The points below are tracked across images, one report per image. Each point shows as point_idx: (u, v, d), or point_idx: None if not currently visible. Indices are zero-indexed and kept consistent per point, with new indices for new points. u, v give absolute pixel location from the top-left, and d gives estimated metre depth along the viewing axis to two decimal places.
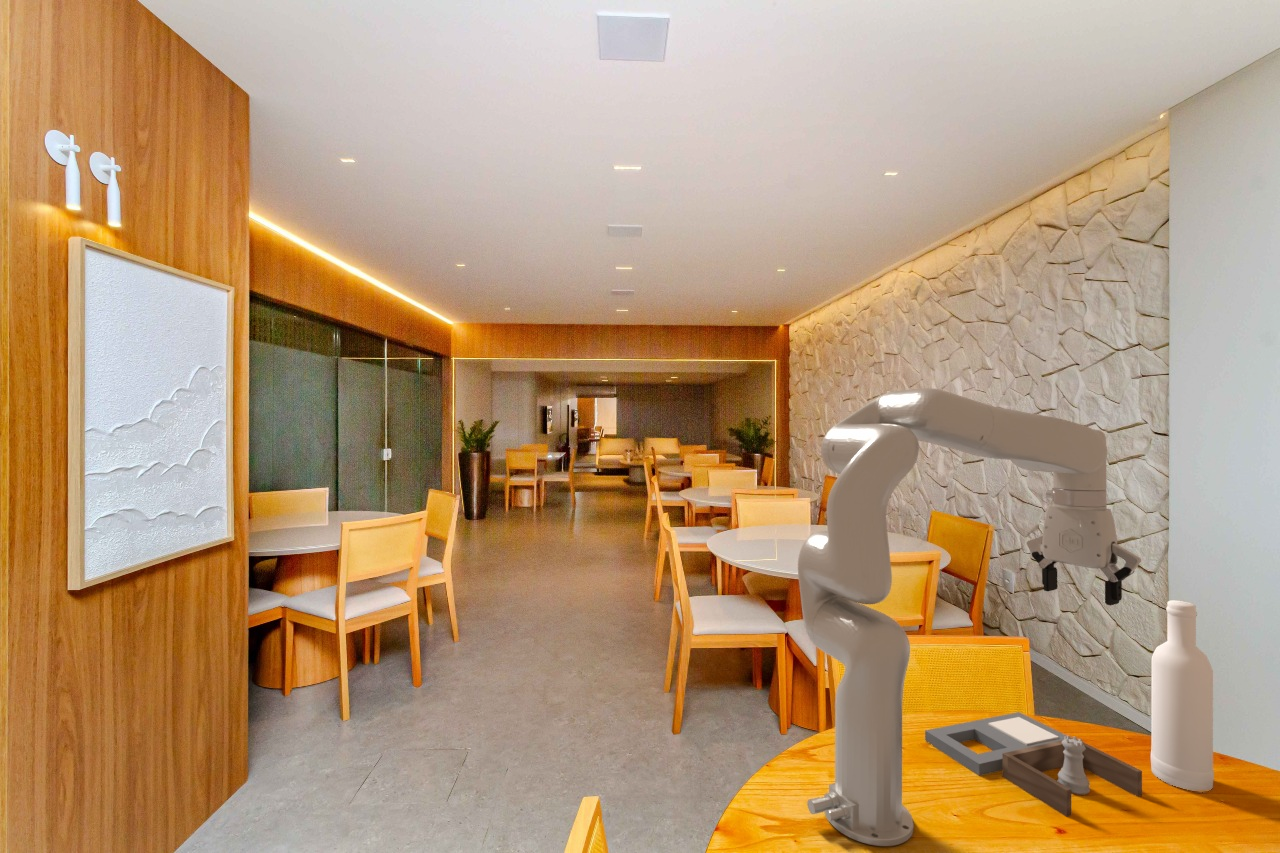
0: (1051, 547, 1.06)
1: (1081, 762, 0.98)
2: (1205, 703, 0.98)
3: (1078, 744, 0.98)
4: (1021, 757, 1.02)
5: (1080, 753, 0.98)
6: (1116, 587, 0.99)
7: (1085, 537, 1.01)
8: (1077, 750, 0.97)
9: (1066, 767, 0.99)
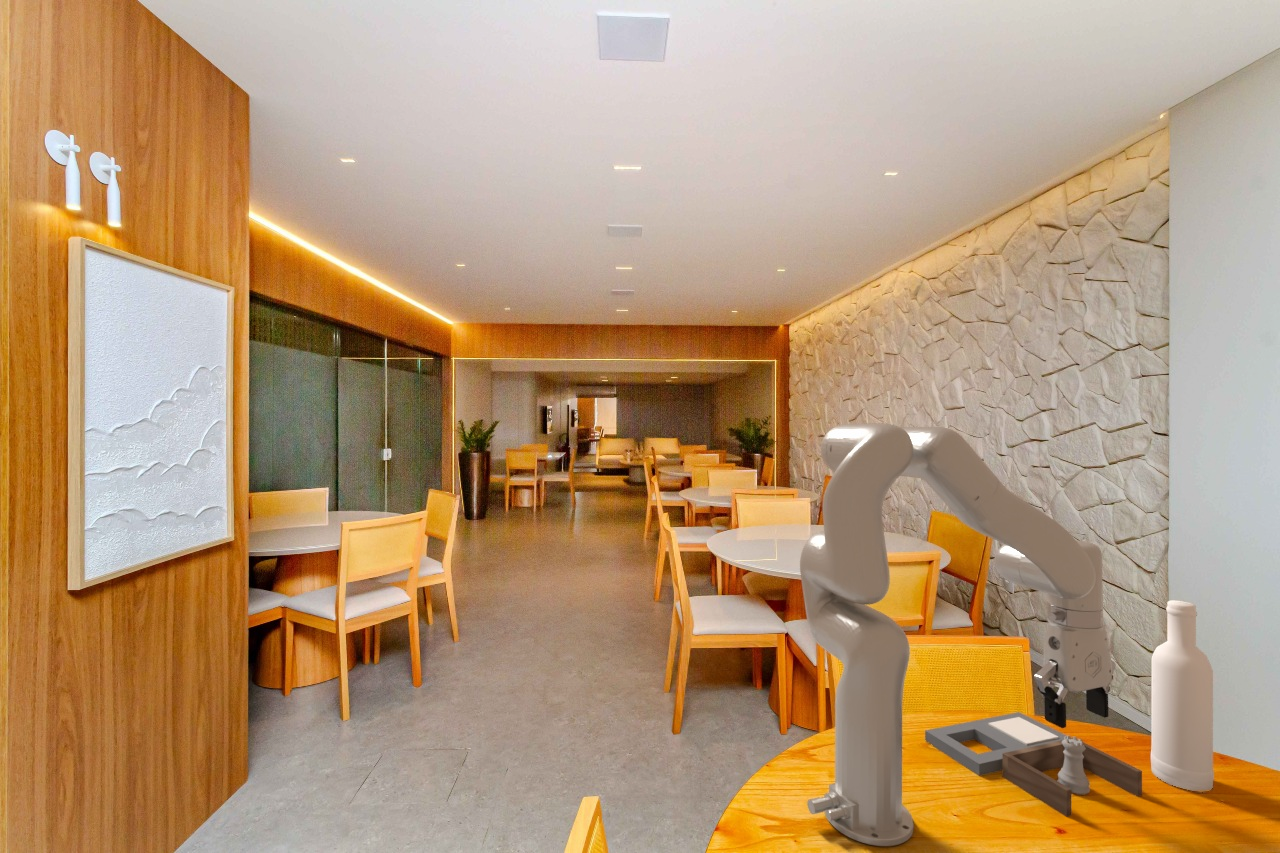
0: (1078, 677, 0.95)
1: (1081, 762, 0.98)
2: (1205, 703, 0.98)
3: (1078, 744, 0.98)
4: (1021, 757, 1.02)
5: (1080, 753, 0.98)
6: None
7: (1102, 656, 0.97)
8: (1077, 750, 0.97)
9: (1066, 767, 0.99)
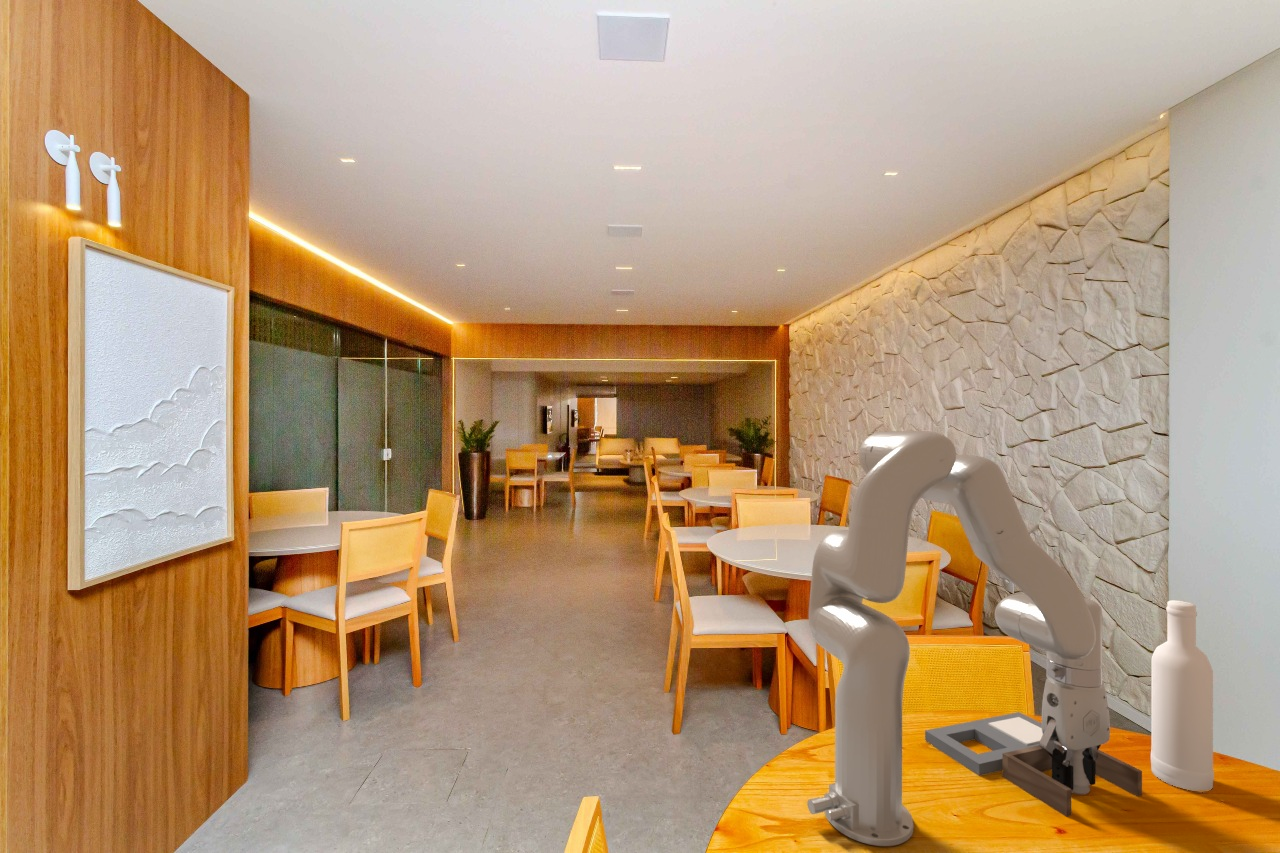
0: (1076, 736, 0.95)
1: (1081, 762, 0.98)
2: (1205, 703, 0.98)
3: None
4: (1021, 757, 1.02)
5: (1080, 753, 0.98)
6: None
7: (1100, 715, 0.97)
8: (1077, 750, 0.97)
9: None
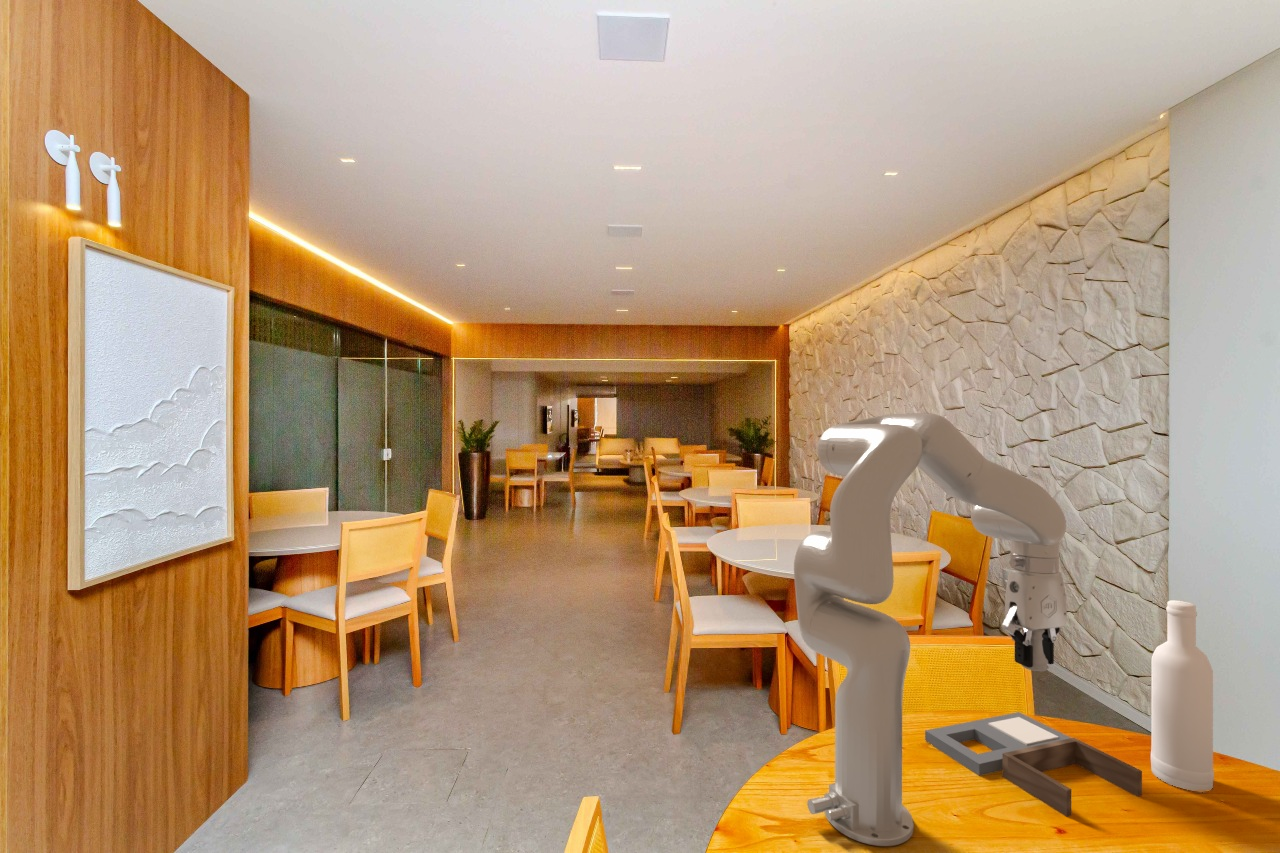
0: (1034, 617, 1.06)
1: (1041, 643, 1.09)
2: (1205, 703, 0.98)
3: None
4: (1021, 757, 1.02)
5: (1040, 635, 1.09)
6: None
7: (1057, 600, 1.08)
8: (1037, 632, 1.08)
9: None
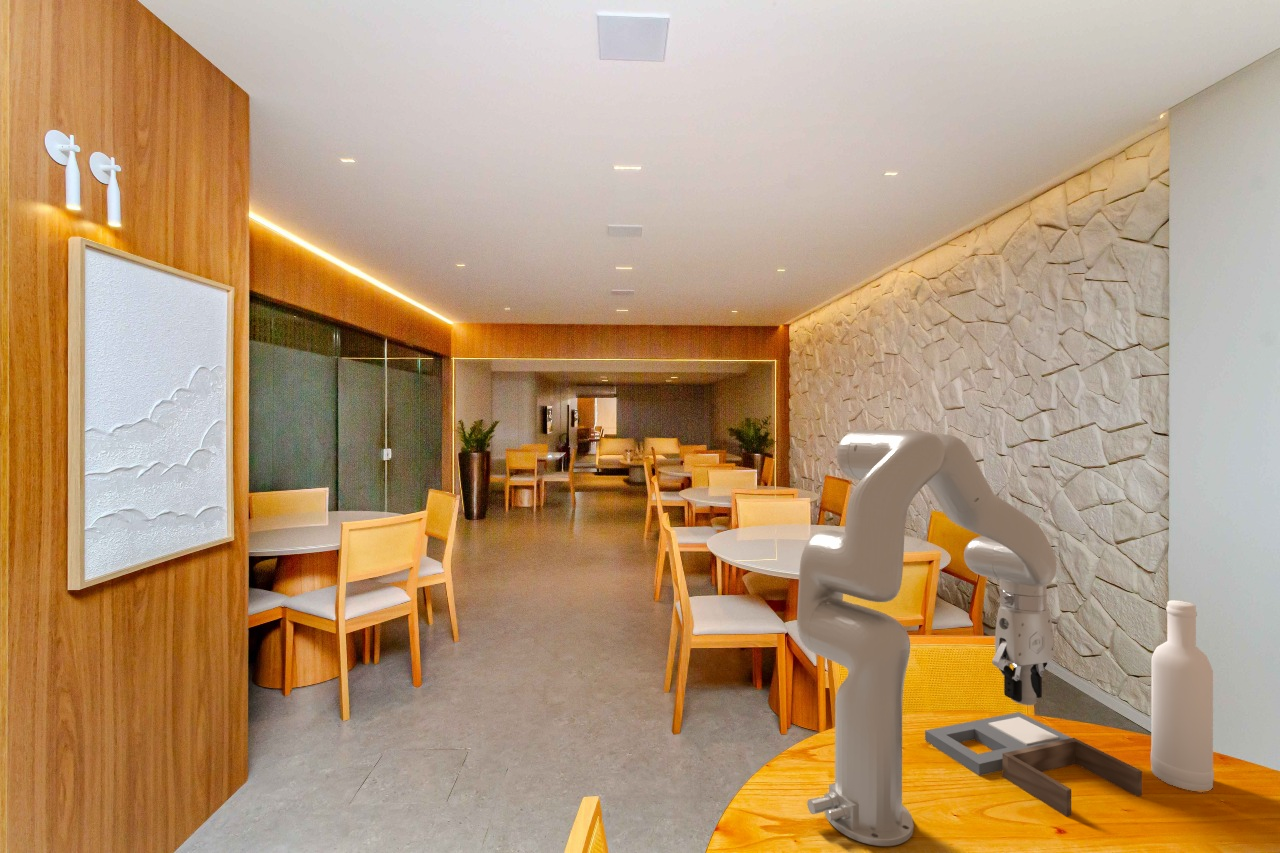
0: (1023, 653, 1.10)
1: (1029, 678, 1.12)
2: (1205, 703, 0.98)
3: None
4: (1021, 757, 1.02)
5: (1028, 670, 1.12)
6: None
7: (1045, 636, 1.12)
8: (1025, 667, 1.12)
9: None
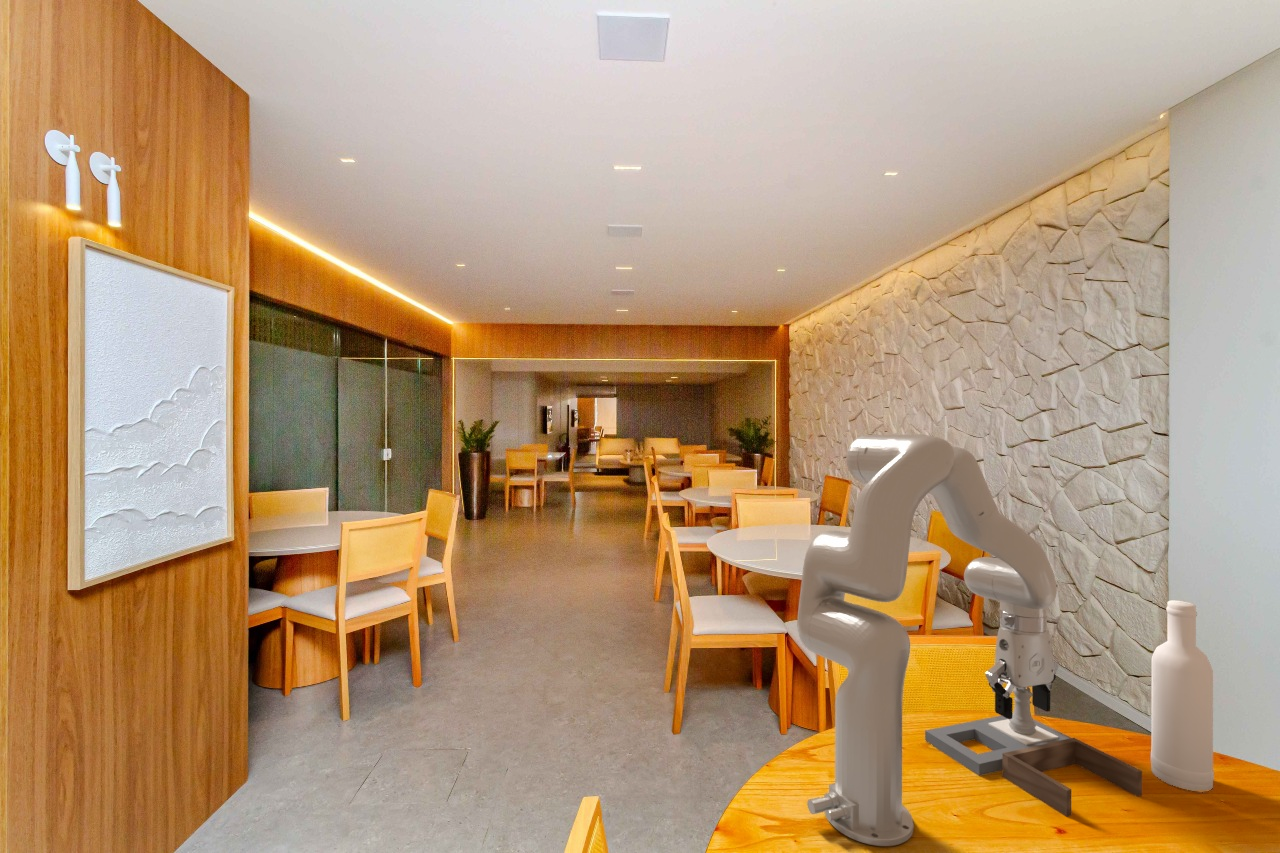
0: (1023, 675, 1.10)
1: (1028, 707, 1.12)
2: (1205, 703, 0.98)
3: (1026, 691, 1.12)
4: (1021, 757, 1.02)
5: (1028, 699, 1.12)
6: None
7: (1045, 657, 1.12)
8: (1025, 696, 1.12)
9: (1015, 711, 1.13)
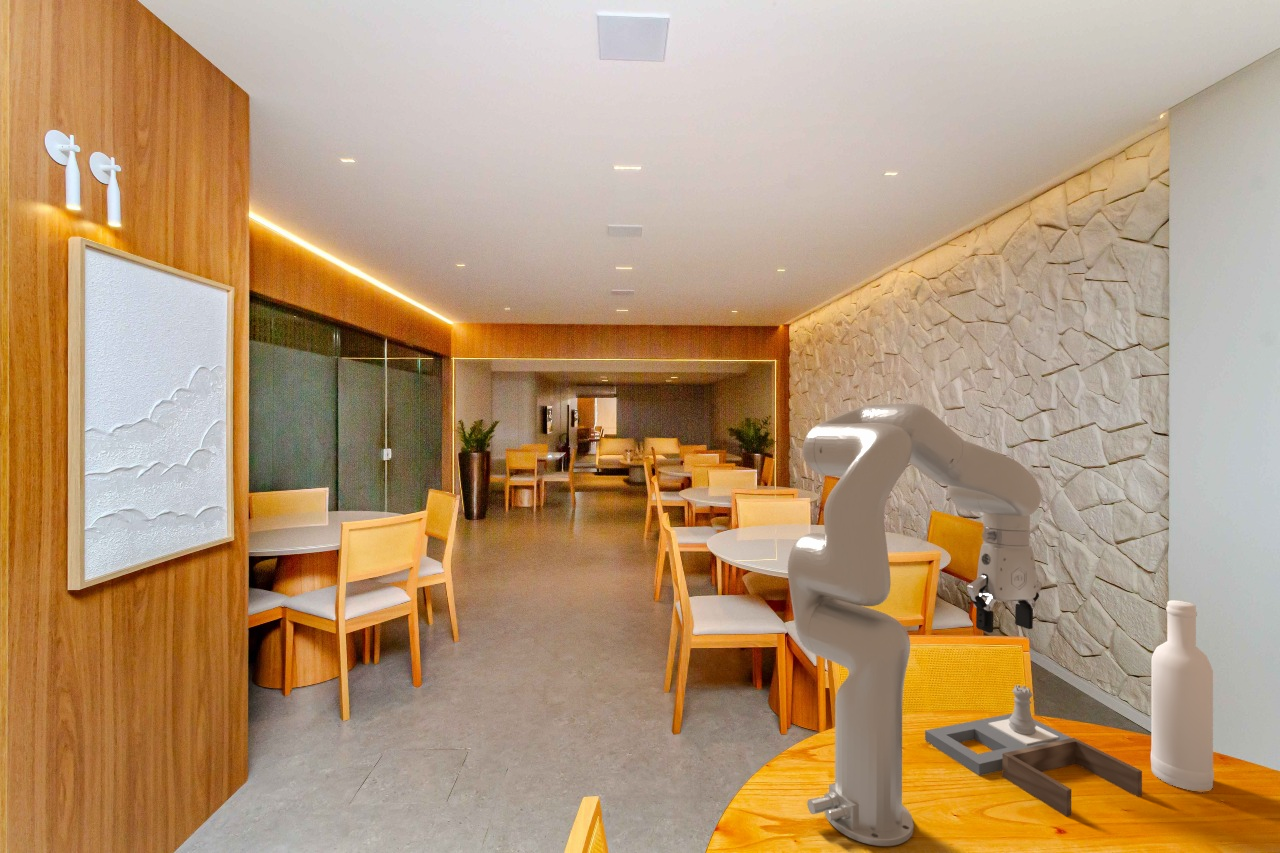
0: (1005, 588, 1.09)
1: (1028, 707, 1.12)
2: (1205, 703, 0.98)
3: (1026, 691, 1.12)
4: (1021, 757, 1.02)
5: (1027, 699, 1.12)
6: None
7: (1027, 572, 1.11)
8: (1025, 696, 1.12)
9: (1015, 712, 1.13)
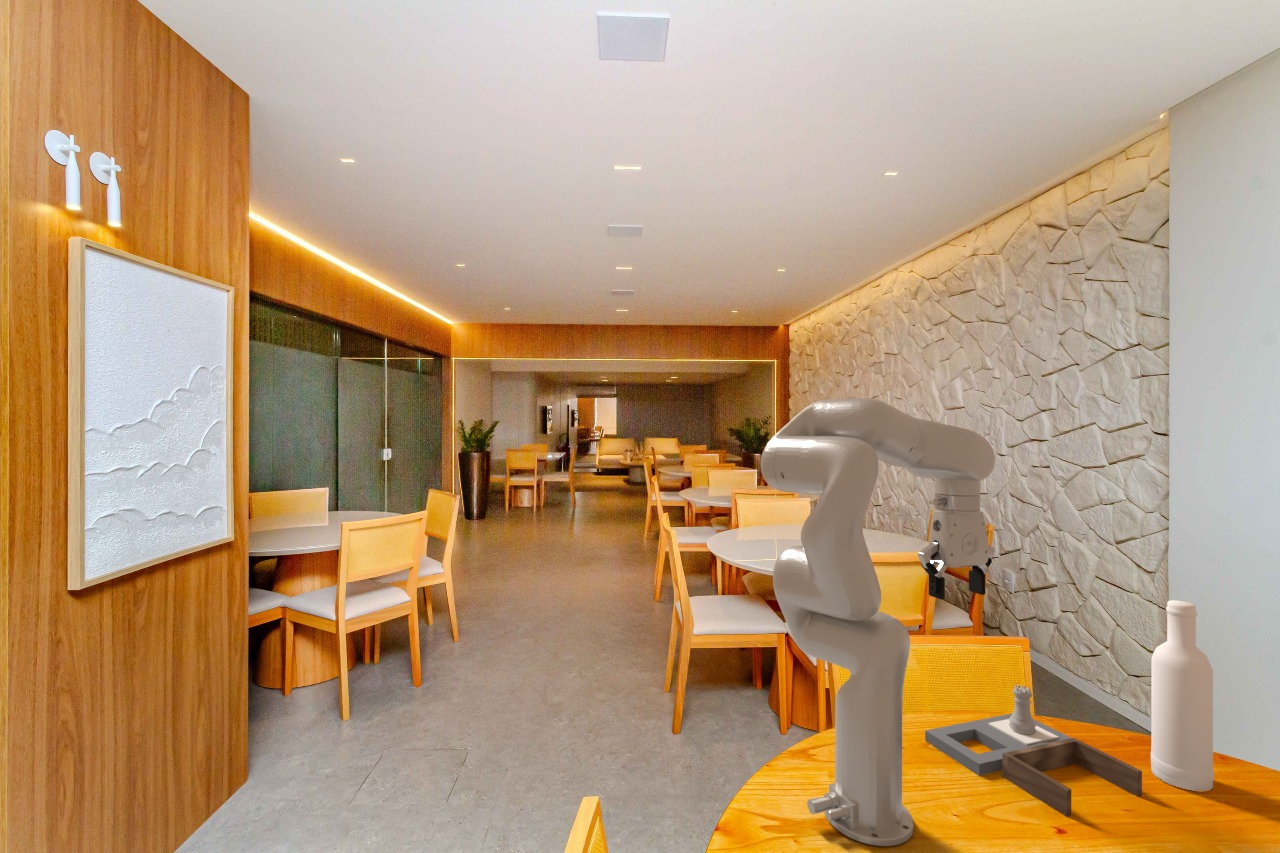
0: (955, 554, 1.08)
1: (1028, 707, 1.12)
2: (1205, 703, 0.98)
3: (1026, 691, 1.12)
4: (1021, 757, 1.02)
5: (1027, 699, 1.12)
6: None
7: (978, 538, 1.10)
8: (1025, 696, 1.12)
9: (1015, 712, 1.13)
